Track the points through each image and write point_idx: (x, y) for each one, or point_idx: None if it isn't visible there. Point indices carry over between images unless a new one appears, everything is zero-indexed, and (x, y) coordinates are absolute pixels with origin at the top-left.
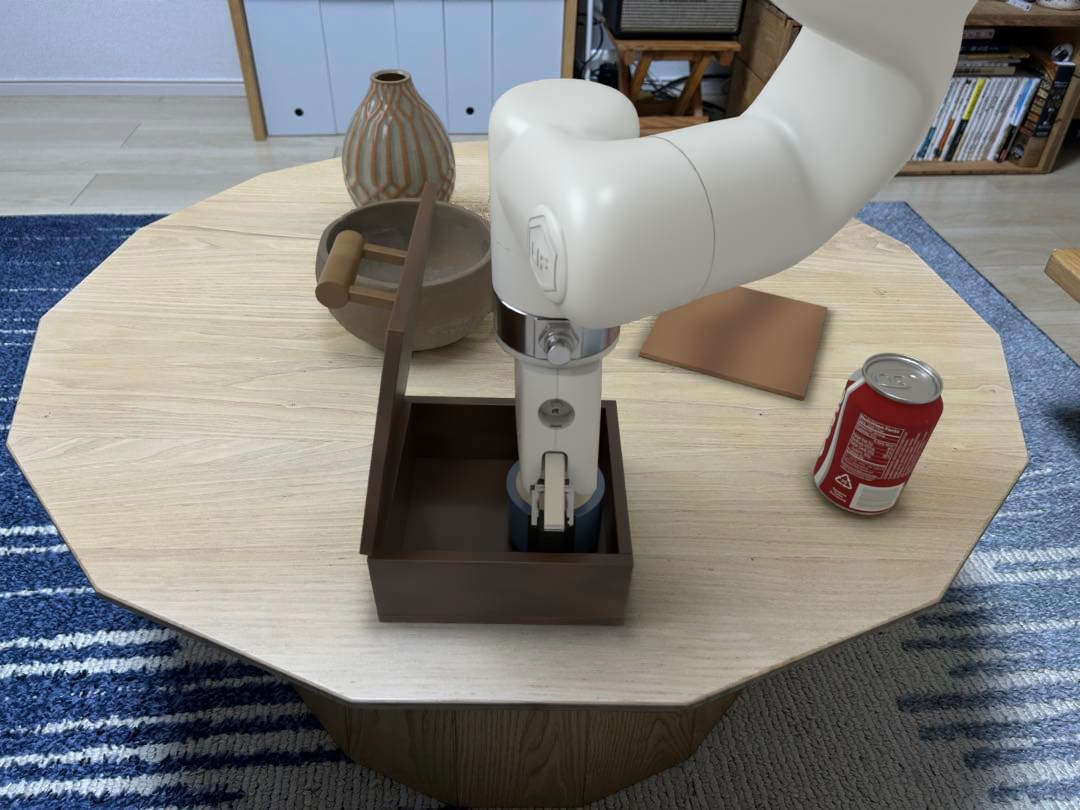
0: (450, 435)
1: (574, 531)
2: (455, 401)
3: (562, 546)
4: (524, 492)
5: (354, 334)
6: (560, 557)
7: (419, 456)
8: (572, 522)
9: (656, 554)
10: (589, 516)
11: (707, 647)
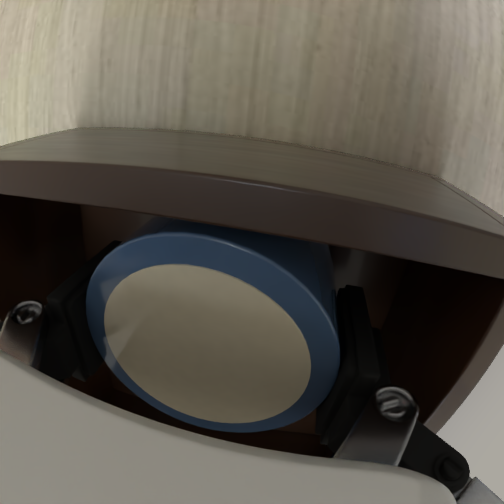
0: (86, 389)
1: (374, 347)
2: None
3: (384, 354)
4: (233, 416)
5: None
6: (452, 400)
7: (112, 387)
8: (415, 417)
9: (301, 66)
10: (323, 293)
11: (489, 63)
